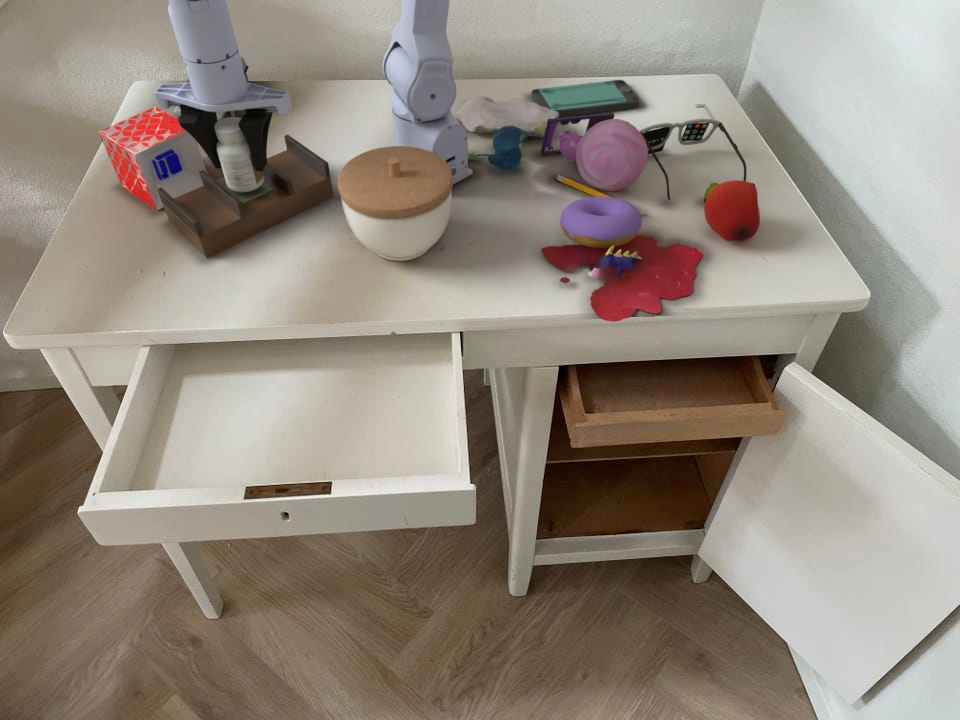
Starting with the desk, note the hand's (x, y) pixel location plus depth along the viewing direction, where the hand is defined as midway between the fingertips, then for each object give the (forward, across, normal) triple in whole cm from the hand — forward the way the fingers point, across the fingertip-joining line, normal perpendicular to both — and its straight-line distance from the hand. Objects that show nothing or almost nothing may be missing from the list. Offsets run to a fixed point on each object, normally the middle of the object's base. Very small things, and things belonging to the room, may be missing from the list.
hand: (241, 165), depth 84 cm
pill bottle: (+3, 0, 0) cm, 3 cm away
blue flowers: (+4, -30, -18) cm, 36 cm away
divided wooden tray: (+6, 0, 0) cm, 6 cm away
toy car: (+6, +14, -24) cm, 29 cm away
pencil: (+6, -43, -8) cm, 44 cm away
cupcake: (+3, -46, -16) cm, 48 cm away
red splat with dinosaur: (+8, -46, +7) cm, 48 cm away
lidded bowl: (+6, -20, +4) cm, 21 cm away
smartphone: (+6, -41, -32) cm, 52 cm away
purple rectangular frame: (+6, -40, -16) cm, 43 cm away
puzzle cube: (+6, +13, -4) cm, 15 cm away
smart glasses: (+6, -54, -16) cm, 57 cm away
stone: (+5, -22, -25) cm, 34 cm away
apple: (+4, -59, +2) cm, 59 cm away
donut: (+6, -43, +2) cm, 44 cm away
